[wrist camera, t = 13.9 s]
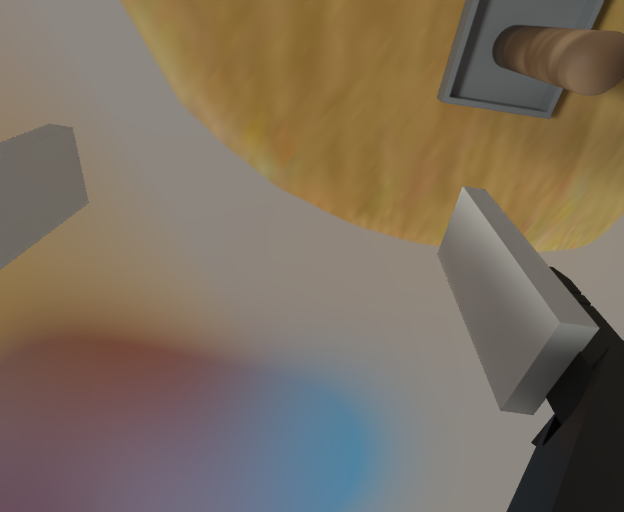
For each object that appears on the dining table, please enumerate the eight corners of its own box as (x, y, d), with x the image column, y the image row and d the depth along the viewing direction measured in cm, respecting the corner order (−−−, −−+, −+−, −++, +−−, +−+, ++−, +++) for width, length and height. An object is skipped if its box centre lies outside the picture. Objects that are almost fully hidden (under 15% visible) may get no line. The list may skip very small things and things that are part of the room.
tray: (475, -33, 36) (484, -36, 34) (596, -14, 37) (611, -15, 34) (436, 97, 43) (441, 102, 41) (539, 113, 43) (549, 118, 41)
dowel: (501, 21, 38) (587, 26, 25) (539, 28, 38) (646, 36, 25) (486, 65, 40) (557, 91, 27) (522, 70, 40) (612, 99, 27)
